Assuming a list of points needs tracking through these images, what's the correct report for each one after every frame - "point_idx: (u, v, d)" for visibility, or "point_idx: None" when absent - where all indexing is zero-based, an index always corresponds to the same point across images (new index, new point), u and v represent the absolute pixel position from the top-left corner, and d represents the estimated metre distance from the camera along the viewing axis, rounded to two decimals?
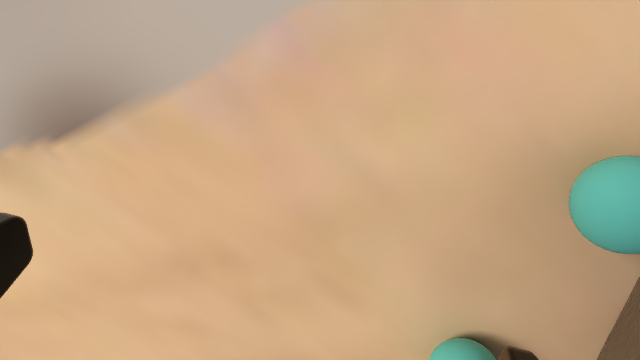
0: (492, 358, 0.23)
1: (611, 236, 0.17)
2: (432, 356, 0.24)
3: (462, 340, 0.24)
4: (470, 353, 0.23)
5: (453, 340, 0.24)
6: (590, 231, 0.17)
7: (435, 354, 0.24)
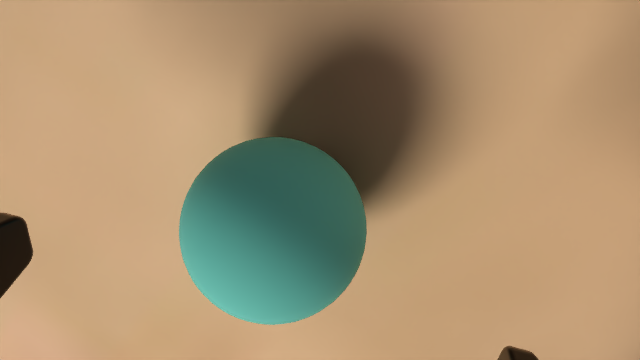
0: (213, 160, 0.09)
1: None
2: None
3: None
4: None
5: None
6: None
7: None
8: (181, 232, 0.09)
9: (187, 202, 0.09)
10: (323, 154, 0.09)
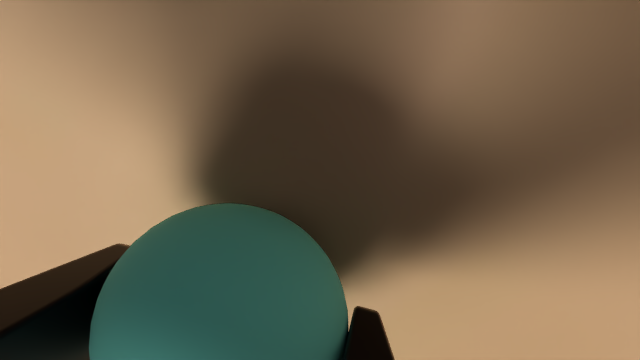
0: None
1: None
2: None
3: None
4: None
5: None
6: None
7: None
8: (89, 346, 0.06)
9: (97, 304, 0.06)
10: (288, 232, 0.07)
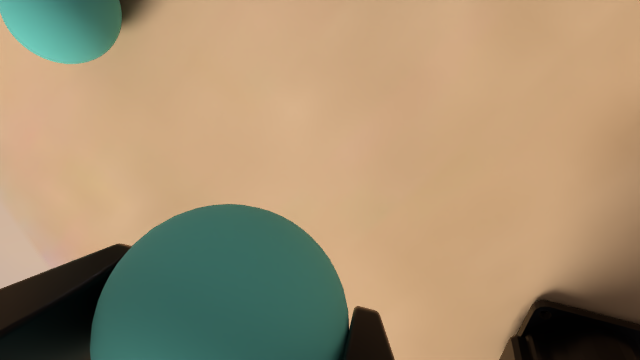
0: None
1: (46, 42, 0.15)
2: None
3: None
4: None
5: None
6: (66, 56, 0.16)
7: None
8: (90, 347, 0.06)
9: (98, 305, 0.06)
10: (289, 233, 0.07)
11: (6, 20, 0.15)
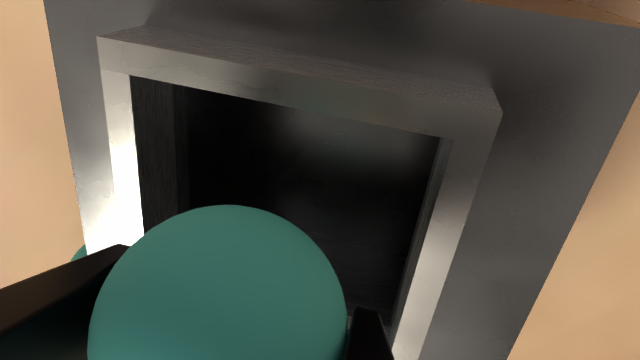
0: None
1: None
2: None
3: None
4: None
5: None
6: None
7: None
8: (87, 349, 0.06)
9: (95, 306, 0.06)
10: (287, 234, 0.07)
11: None
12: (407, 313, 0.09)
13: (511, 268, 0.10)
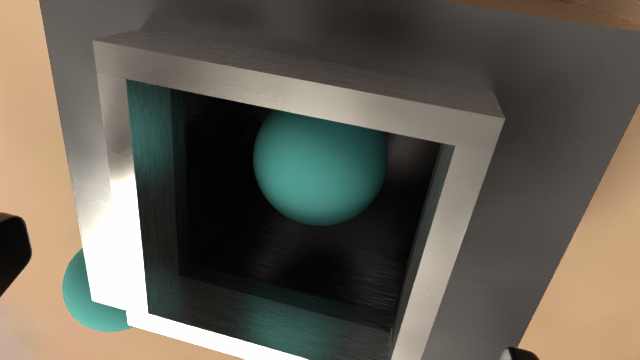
0: None
1: (106, 329, 0.17)
2: None
3: None
4: None
5: None
6: (121, 330, 0.18)
7: None
8: (258, 155, 0.12)
9: (262, 134, 0.12)
10: None
11: (71, 313, 0.17)
12: (408, 320, 0.09)
13: (513, 274, 0.10)
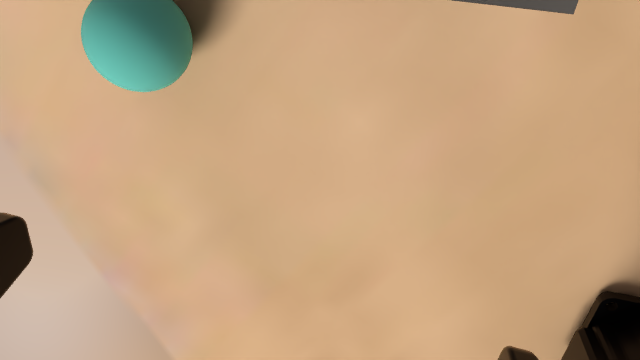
0: None
1: (130, 74, 0.16)
2: None
3: None
4: None
5: None
6: (147, 85, 0.17)
7: None
8: None
9: None
10: None
11: (92, 55, 0.16)
12: None
13: None
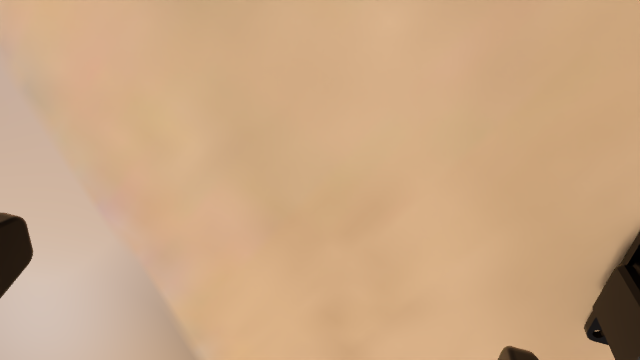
0: None
1: None
2: None
3: None
4: None
5: None
6: None
7: None
8: None
9: None
10: None
11: None
12: None
13: None
